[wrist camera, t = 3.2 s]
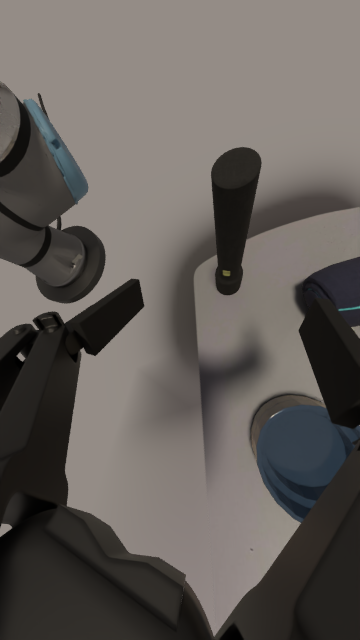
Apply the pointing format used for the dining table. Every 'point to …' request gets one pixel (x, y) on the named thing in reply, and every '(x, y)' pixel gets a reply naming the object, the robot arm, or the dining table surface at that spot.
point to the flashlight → (233, 212)
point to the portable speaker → (337, 288)
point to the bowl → (299, 450)
